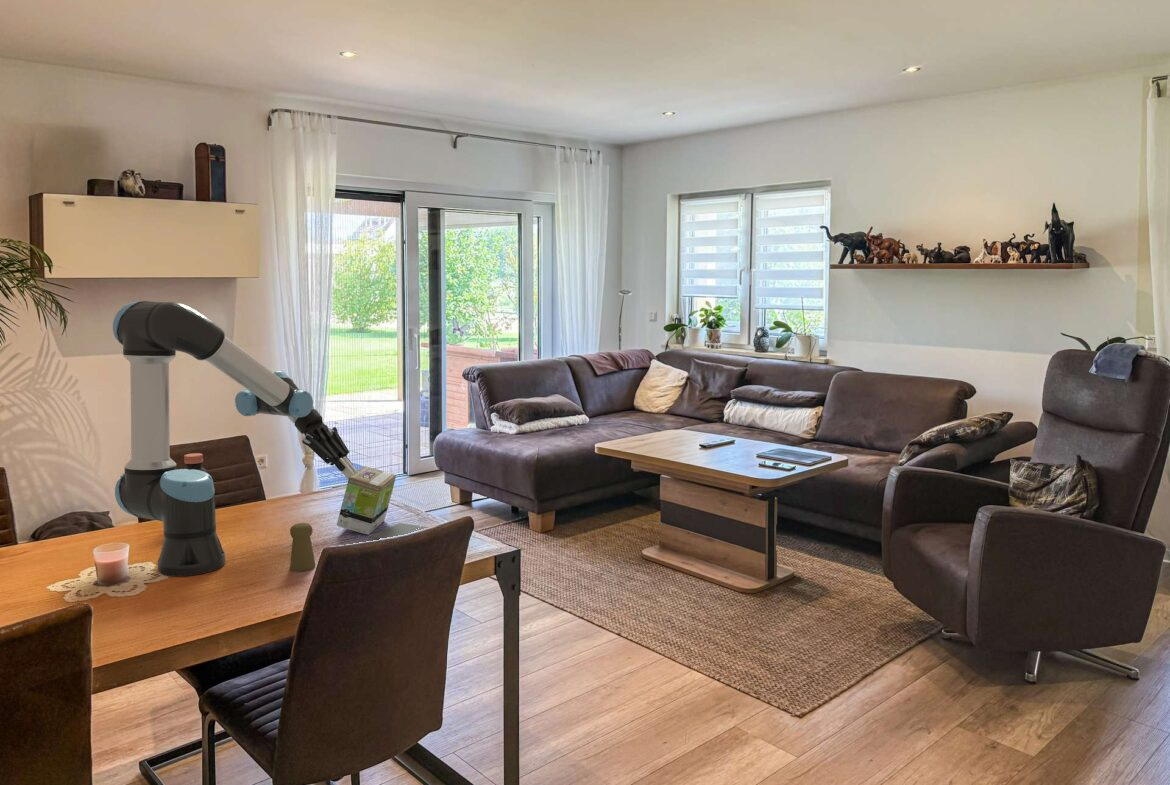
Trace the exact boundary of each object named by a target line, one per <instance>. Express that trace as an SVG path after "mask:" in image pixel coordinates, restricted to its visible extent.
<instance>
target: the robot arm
mask: <svg viewBox="0 0 1170 785" xmlns="http://www.w3.org/2000/svg"><path fill="white" fill-rule="evenodd" d="M112 333H113V335H114V339H115V340H117V341H118V343H119V344H120V345H121V346H122V355H123V357H124V358H125V360H127V361H128V362H129V366H130V369H129V370H130V373H129V374H130V380H129V383H130V454H131V455H130V457H131V458H130V460H129V461H128V462H127V463H125V465H124V472H123V473H122V474H121V475H120V479H118V480H117V481H116V484H115V486H114V497H115V502H117V505H118V506H119V508H120V509H121V510H122V511H123V512H125V513H127V514H129V515H132V516H134V517H136V518H140V519H149V520H154V521H160V522H162V525H163V527H162V528H163V542H162V545H161V550H160V553H159V554H160V555H159V557H158V559H157V572H158V573H159V574H161V575H164V576H169V577H190V576H191V577H192V576H197V575H203V574H206V573H210V572H214V571H217V570H218V569H220V568H222V567H223V566H225V564H226V553H225V551H224V549H223V546H222V544H221V541H220V538H219V536H218V533H217V526H216V524H217V523H216V521H217V520H216V498H215V497H216V496H215V494H216V493H215V491H216V490H215V487H214V486H215V485H214V479H213V477H212V475H211V474H209V473H208V472H207V473H206V472H203V471H200V470H194V469H192V470H188V469H185V468H180V469H177V463H176V462H175V461H174V460H173V459H172V458H171V456H170V453H171V452H170V450H171V449H170V446H171V445H170V444H171V442H170V441H171V440H170V439H171V438H170V437H171V436H170V362H171V361H173V360H174V359H175V357H177V355H176V353H177V352H181V353H185V354H187V355H189V356H191V357H193V358H194V359H196V360H197V361H206V362H207V363H209V364H210V365H212V366H213V367H214V368H216V369H218V370H219V371H220V372H222V373H223V374H224V375H226V376H227V377H228V378H230V379H232V380H233V381H235V382H236V383H237V384H239V385H241V386H242V388H245V389H243V390H240V391H238V392H237V394H236V395H235V397H234V403H235V408H236V410H237V412H238V413H239V414H241V416H243V417H251V416H252V417H253V416H256V415H259V414H262V415H270V416H280V417H281V416H282V417H287V418H288V419H289V420H290V421H291V423H293V424H294V427H295V428H296V429H297V430H298V432H299V433H300V434H302V435H304V437H303V439H302V441H301V443H302V444H304V445H306V446H307V447H308V448H310V449H311V450H312V451H313V452H314V453H315V454H316V455H317V457H319V458H320V459H321V460H323V462H324V463H326V464H328V465H330V466H335V467H336V469H337V470H338V471H340V472H341V473H342V474H343V475H344V476H345V478H346V479H347V481H348V480H349V477H350V476H352V475H353V474H354V473H356V472H357V471H358V470H357V468H356V467H355V466H354V465H353V463H352V461H351V460H350V459H349V458H348V454H350V450H349V449H348V447H347V445H346V444H345V442H344V441H343V439H342V437H341V436H340V434H339V432H338V429H337V427H336V426H333V427H332V428H331V427H329V426H328V425H326V424H325V423H324V422H323V416H322V415H321V413H320V412H318V410H317V409H315V406H314V399H313V396H312V394H311V393H310V392H308V391H307V390H303V389H301V388H299V387H298V386H297V385H296V383H295V382H294V380H293V379H292V378H291V377H290V376H289V375H287V373H286V372H285V371H281V370H277V371H274V372H273V371H272V370H270V369H269V368H268V367H266V366H265V365H263V364H262V363H261V362H260V361H259V360H257V359H256V358H254V357H253V356H251V355H250V354H249V353H248V352H246V351H245V350H244V349H243V348H241V347H240V346H239V345H238V344H236V343H234V342H233V341H232V340H231V339H229V338H228V337H227V336H226V332H225V330H224V329H223V328H222V327H220V326H219V325H218V324H217V323H216V322H214V321H212V320H211V319H210V318H208V317H207V316H205V315H204V314H202V313H200V312H199V311H197V310H196V309H194V308H193V307H190V306H188V305H186V304H184V303H180V302H176V301H152V300H151V301H150V300H140V301H134V302H133V301H132V302H129V303H127V304H125V305H123V306H122V307H121V308H120V309H119V310H118V311H117V312H116V314H115V316H114V318H113V322H112Z"/></svg>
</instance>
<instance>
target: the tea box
mask: <svg viewBox="0 0 1170 785" xmlns="http://www.w3.org/2000/svg"><path fill="white" fill-rule="evenodd" d="M396 477H397V475H396V474H394V473H391V472H387V471H384V470H380V469H377V468H373V467H370V466H367V465H366V466H363V467H362V468H360V469H359V470H357V472H356V473H354V474H353V475H352V476H350V477H349V480H348V479H347V484H346V488H345V492H344V495H343V499H342V503H341V507H340V511H339V514H338V518H337V520H336V521H337V522H336V526H337V527H340V528H342V529H346V530H350V531H353V532H356V533H360V534H364V535H369V536H370V534H371V533H373V531H375V530H376V529H377V528H378V527H379V526H380V525H381V524H383V522H385V520H386V516H387V512H388V509H389V506H390V500H391V498H392V494H393V489H394V486H395V482H396V479H397V478H396Z"/></svg>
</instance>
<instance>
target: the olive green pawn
mask: <svg viewBox="0 0 1170 785" xmlns="http://www.w3.org/2000/svg"><path fill="white" fill-rule="evenodd" d="M289 534H290V536H291V538H292V543H291V544H292V545H291V552H290V553H291V554H290V562H289V563H290V564H289V570H290V571H291V572H297V573H298V572H300V573H301V572H308V571H311V570H314V569H315V568H316V567H315V566H316V561H315V555H314V551H313V550H314V549H313V545H312V539H311V536H312V535H313V527H312V525H311V524H310V523H307V522H299V523H295V524H294V525H292V526H290V530H289Z"/></svg>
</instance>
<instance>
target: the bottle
mask: <svg viewBox="0 0 1170 785" xmlns="http://www.w3.org/2000/svg"><path fill="white" fill-rule="evenodd" d="M183 458H184V459H183V461H184V466H185V467H184V469H188V470H192V469H194V470H200V471H203V472H206V473H208V470H207V469H206V468H205V467H203V464H204V454H203V453H199V452H196V453H195V452H194V453H187V454H184V455H183Z"/></svg>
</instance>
